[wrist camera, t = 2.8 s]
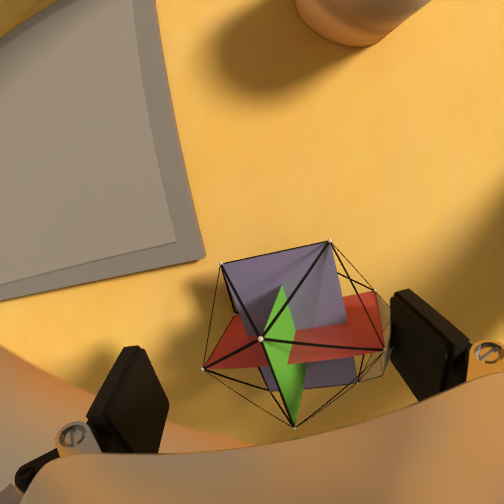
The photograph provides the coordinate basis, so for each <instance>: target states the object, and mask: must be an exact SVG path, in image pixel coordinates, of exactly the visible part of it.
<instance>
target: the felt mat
mask: <svg viewBox="0 0 504 504" xmlns="http://www.w3.org/2000/svg"><path fill="white" fill-rule="evenodd" d="M205 255H206V252H205V249H204V245H203V241H202V236H201V232H200V228H199V224H198V220H197V216H196V212H195V207H194V203H193V199H192V194H191V190H190V186H189V181H188V177H187V172H186V168H185V163H184V158H183V154H182V149H181V144H180V139H179V135H178V130H177V125H176V120H175V115H174V110H173V104H172V99H171V94H170V88H169V83H168V77H167V72H166V66H165V60H164V54H163V48H162V42H161V36H160V30H159V23H158V16H157V10H156V2H155V0H58V1H56V2H55V3H53V4H51V5H50V6H48V7H46V8H45V9H43V10H41V11H40V12H38V13H36V14H35V15H33V16H32V17H30V18H29V19H27V20H26V21H24V22H23V23H21V24H20V25H19V26H17V27H16V28H14V29H13V30H12V31H10V32H9V33H7V34H6V35H5V36H4V37H2V38H1V39H0V301H1V300H5V299H10V298H15V297H20V296H24V295H29V294H34V293H39V292H44V291H48V290H53V289H58V288H63V287H67V286H72V285H77V284H82V283H87V282H91V281H96V280H101V279H106V278H111V277H116V276H120V275H125V274H130V273H135V272H140V271H145V270H149V269H154V268H159V267H164V266H169V265H174V264H179V263H183V262H188V261H193V260H198V259H203V258H205Z"/></svg>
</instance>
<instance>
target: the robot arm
mask: <svg viewBox="0 0 504 504" xmlns="http://www.w3.org/2000/svg"><path fill="white" fill-rule="evenodd" d="M392 323H393V325H392ZM391 327H392V332H391ZM390 332H391V338H390V349H391V348H392V347H393V346H394V347H393V350H392V352H391V355H390V360H391V362H392V364H393V365H394V367H395V368H396V369H397V371H398V372H399V374H400V375H401V377H402V378H403V379H404V381H405V382H406V384H407V385H408V387H409V388H410V390H411V391H412V393H413V394H414V396H415V397H416V398H417V400H418V401H419V402H416V403H414V404H411V405H409V406H406V407H403V408H401V409H398V410H395V411H392V412H390V413H387V414H384V415H381V416H378V417H375V418H372V419H369V420H365V421H362V422H359V423H356V424H352V425H349V426H345V427H342V428H338V429H334V430H330V431H326V432H322V433H318V434H314V435H310V436H305V437H301V438H296V439H291V440H286V441H280V442H275V443H269V444H263V445H256V446H250V447H242V448H235V449H225V450H215V451H203V452H187V453H158V450H159V446H160V442H161V438H162V434H163V430H164V426H165V422H166V418H167V414H168V410H169V401H168V398H167V396H166V394H165V392H164V390H163V388H162V386H161V384H160V382H159V380H158V378H157V376H156V373H155V371H154V369H153V367H152V365H151V362H150V360H149V358H148V356H147V353H146V351H145V350H144V349H143V348H142V349H141V348H140V347H139V346H138V345H137V346H128V347H124V348H123V350H122V351H121V353H120V355H119V356H118V358H117V360H116V362H115V363H114V365H113V367H112V369H111V371H110V372H109V374H108V376H107V378H106V380H105V381H104V383H103V385H102V387H101V389H100V390H99V392H98V394H97V396H96V398H95V400H94V402H93V403H92V405H91V407H90V409H89V411H88V413H87V415H86V417H87V418H88V421H87V423H84V422H72V423H70V424H67V425H66V426H64V427H63V428H62V429H61V430H60V431H59V432H58V434H57V436H56V439H55V440H56V445H57V448H56V449H54V450H52V451H50V452H48V453H46V454H44V455H42V456H40V457H38V458H37V459H34V460H33V461H31V462H28V463H27V464H25V465H23V466H21V467H20V468H19V470H18V471H17V473H16V475H15V484H16V485H14V486H13V485H12V484H9V485H8V486H7V487H6V488H5V489H4V490H2V491H1V492H0V504H504V345H503V344H502V343H500V342H498V341H495V340H481V341H478V342H476V343H475V344H474V345H472V344H471V343H470V342H469V338H467V337H466V336H465V335H464V334H463V333H462V332H461V331H459V330H458V329H457V328H456V327H455V326H454V325H452V324H451V323H450V322H449V321H448V320H447V319H445V318H444V317H443V316H442V315H441V314H439V313H438V312H437V311H436V310H435V309H433V308H432V307H431V306H430V305H429V304H427V303H426V302H425V301H424V300H423V299H421V298H420V297H419V296H418V295H416V294H415V293H414V292H413V291H411V290H410V289H405V290H401V291H398V292H395V293H394V297H391V299H390Z"/></svg>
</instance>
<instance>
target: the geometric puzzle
mask: <svg viewBox="0 0 504 504" xmlns="http://www.w3.org/2000/svg"><path fill="white" fill-rule="evenodd" d="M332 244H333V243H332V239H328V240H327V241H324V242H319V243H315V244H310V245H305V246H301V247H296V248H291V249H287V250H282V251H277V252H273V253H268V254H263V255H259V256H254V257H249V258H245V259H240V260H235V261H231V262H226V263H223V262H222V261H221V262H219V265H220V267H221V270H222V273H223V277H224V280H225V283H226V287H227V290H228V293H229V297H230V300H231V303H232V307H233V310H234V316H233V318H232V320H231V322H230V323H229V325H228V327H227V328H226V330H225V332H224V333H223V335H222V337H221V338H220V340H219V342H218V344H217V345H216V347H215V349H214V350H213V352H212V354H211V355H210V357H209V359H208V360H207V362H206V364H205V365H204V364H203V367H201V371H206V372H207V371H208V372H210V373H213V374H216V375H219V376H222V377H225V378H228V379H231V380H234V381H237V382H240V383H243V384H246V385H249V386H253V387H256V388H259V389H263V390H266V391H269V392H270V394H271V395H272V397H273V398H274V400H275V401H276V403H277V404H278V406H279V407H280V409H281V410H282V412H283V414H284V415H285V417H286V418H287V420H288V421H289V423H290V424H291V427H292V429H293V430H296V429H297V427H298V426H299V425H301V424H302V423H304V422H305V421H307V420H308V418H309V417H310V418H311V416H312V415H313V414H314V415H315V413H316V412H317V411H318V410H320V409H321V408H322V407H323V406H325V405H326V404H327V403H328V402H329V401H331V400H332V399H333V398H334V397H335V396H337V395H338V394H339V393H340V392H341V391H343V390H344V389H345V388H346V387H347V386H348V385H349V384H355V383H356V384H359V382H362V381H366V380H369V379H373V378H377V377H380V376H383V373H384V371H385V368H386V366H387V363H388V360H389V358H390V355H391V352H392V350H393V347H394V346H393V347H392V348H391V349H390V338H391V332H392V327H391V332H390V307H389V306H388V305H387V304H386V303H385V301H384V300H383V299H382V298H381V297H380V296H379V295H378V293H377V292H376V291H377V290H376V289H373V288H372V289H371V288H369V287H367V286H365V285H363V284H361V283H359V282H357V281H355V280H353V279H350V277H349V275H348V273H347V271H346V269H345V267H344V265H343V263H342V262H341V260H340V258H339V256H338V254H337V252H336V251H335V249H334V247H335V246H334V247H333V245H334V244H333V245H332ZM331 246H332V248H333V250H334V252H335V254H336V256H337V257H338V259H339V261H340V263H341V265H342V267H343V269H344V270H345V272H346V274H347V276H348V277H346V276H344V275H342V274H340V273H338V272H337V270H336V265H335V261H334V257H333V252H332V248H331ZM335 248H336V247H335ZM336 249H337V248H336ZM337 250H338V249H337ZM338 251H339V250H338ZM339 252H340V251H339ZM340 253H341V252H340ZM341 254H342V253H341ZM342 255H343V254H342ZM343 256H344V255H343ZM344 257H345V256H344ZM345 258H346V257H345ZM346 260H347V259H346ZM347 261H348V260H347ZM348 262H349V261H348ZM349 263H350V262H349ZM350 264H351V263H350ZM351 265H352V264H351ZM352 266H353V265H352ZM353 267H354V266H353ZM354 268H355V267H354ZM356 271H357V270H356ZM219 272H220V268H219ZM357 272H358V271H357ZM358 273H359V272H358ZM338 274H339V275H341V276H343V277H346V278H348V279H349V280H350V282H351V284H352V286H353V288H354V290H355V292H356V295H351V296H345V297H342V292H341V288H340V283H339V278H338ZM359 274H360V273H359ZM360 275H361V274H360ZM361 276H362V275H361ZM362 277H363V276H362ZM218 278H219V274H218ZM364 280H365V279H364ZM352 281H354V282H356V283H358V284H360V285H362V286H364V287H366V288H368V289H370V290H372V291H371V292H366V293H361V294H358V292H357V290H356V288H355V286H354V284H353V282H352ZM365 281H366V280H365ZM366 282H367V281H366ZM367 283H368V282H367ZM217 284H218V280H217ZM368 284H369V283H368ZM369 285H370V284H369ZM370 286H371V285H370ZM229 288H230V290H229ZM216 289H217V285H216ZM230 291H231V293H230ZM231 294H232V296H233V299H234V302H235V304H236V307H237V310H238V311H237V312H236V310H235V307H234V303H233V300H232V296H231ZM215 295H216V291H215ZM214 301H215V297H214ZM213 307H214V303H213ZM212 313H213V309H212ZM238 313H239V314H238ZM211 319H212V315H211ZM210 325H211V321H210ZM392 325H393V323H392ZM209 331H210V327H209ZM208 337H209V333H208ZM207 343H208V339H207ZM206 349H207V345H206ZM369 353H372V354H371V356H370V358H369V360H368V362H367V365H366V367H365V369H364V371H362V372H361V368H362V363H363V358H364V354H369ZM357 355H363V358H362V362H361V367H360V372H361V373H360V372H359V375H358V376H357V374H356V368H355V362H354V356H357ZM205 356H206V351H205ZM204 362H205V358H204ZM248 367H258V369H259V371H260V373H261V375H262V377H263V380H264V382H265V384H266V386H267V388H268V389H264V388H261V387H258V386H255V385H251V384H248V383H245V382H242V381H239V380H236V379H233V378H230V377H227V376H224V375H221V374H218V373H216V372H213V371H210V370H207V369H228V368H248ZM208 372H207V373H208ZM361 374H362V375H361ZM210 375H211V374H210ZM360 375H361V377H360V379H359V376H360ZM211 376H212V375H211ZM213 377H214V376H213ZM357 377H358V380H357ZM214 378H215V377H214ZM216 379H217V378H216ZM217 380H218V379H217ZM218 381H219V380H218ZM220 382H221V381H220ZM221 383H222V382H221ZM223 384H224V383H223ZM347 384H348V385H347ZM356 384H355V385H356ZM224 385H225V384H224ZM340 385H347V386H346V387H345V388H343V389H342V390H341V391H340V392H339V393H338V394H336V395H335V396H334V397H333V398H332V399H330V400H329V401H328V402H327V403H326V404H324V405H323V406H322V407H321V408H319V409H318V410H317V411H316V412H314V413H313V414H312V415H311V416H309V417H308V418H307V419H305V420H304V421H303V422H301V423H300V424H299V425H297V426H295V424H296V420H297V415H298V411H299V406H300V401H301V396H302V391H303V389H312V388H322V387H331V386H340ZM226 386H227V385H226ZM353 386H354V385H353ZM353 386H352V387H353ZM227 387H228V386H227ZM352 387H351V388H352ZM229 388H230V387H229ZM230 389H231V388H230ZM232 390H233V389H232ZM348 390H349V389H348ZM348 390H347V391H348ZM233 391H234V390H233ZM272 391H279V393H280V395H281V398H282V401H283V403H284V406H285V408H286V411H287V413H288V416H289V418H290V420H289V418H288V417H287V415H286V414H285V412H284V411H283V409H282V408H281V406H280V405H279V403H278V402H277V400H276V399H275V397H274V396H273V394H272V393H271V392H272ZM347 391H346V392H347ZM235 392H236V391H235ZM236 393H237V392H236ZM344 393H345V392H344ZM344 393H343V394H344ZM238 394H239V393H238ZM343 394H342V395H343ZM239 395H240V394H239ZM241 396H242V395H241ZM242 397H243V396H242ZM339 397H340V396H339ZM339 397H338V398H339ZM244 398H245V397H244ZM245 399H246V398H245ZM247 400H248V399H247ZM335 400H336V399H335ZM335 400H334V401H335ZM248 401H249V400H248ZM250 402H251V401H250ZM251 403H252V402H251ZM331 403H332V402H331ZM331 403H330V404H331ZM253 404H254V403H253ZM254 405H256V404H254ZM328 405H329V404H328ZM328 405H327V406H328ZM256 406H257V405H256ZM327 406H326V407H327ZM258 407H259V406H258ZM259 408H260V407H259ZM324 408H325V407H324ZM324 408H323V409H324ZM261 409H262V408H261ZM323 409H322V410H323ZM262 410H264V409H262ZM264 411H265V410H264ZM320 411H321V410H320ZM320 411H319V412H320ZM266 412H267V411H266ZM267 413H268V412H267ZM317 413H318V412H317ZM317 413H316V414H317ZM269 414H270V413H269ZM271 415H272V414H271ZM314 415H313V416H314ZM272 416H273V415H272ZM313 416H312V417H313ZM274 417H275V416H274ZM275 418H277V417H275ZM310 418H309V419H310ZM277 419H278V418H277ZM279 420H280V419H279ZM281 421H282V420H281ZM282 422H283V421H282ZM284 423H285V422H284ZM286 424H287V423H286ZM287 425H289V424H287ZM289 426H290V425H289Z"/></svg>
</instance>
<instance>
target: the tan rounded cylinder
mask: <svg viewBox="0 0 504 504" xmlns="http://www.w3.org/2000/svg"><path fill="white" fill-rule="evenodd" d="M430 1H431V0H295V6H296V9H297V11H298V13H299V15H300V17H301V18H302V19H303V21H304V22H305V23H306V24H307V25H308V26H309V27H310V28H311V29H312V30H313V31H314V32H316V33H317V34H319V35H320V36H322V37H324V38H325V39H327V40H329V41H332V42H334V43H337V44H340V45H344V46H349V47H366V46H371V45H373V44H376V43H378V42H379V41H380V40H382V39H383V38H384V37H385V36H387V35H388V34H389V33H390V32H392V31H393V30H394V29H395V28H396V27H398V26H399V25H400V24H401V23H403V22H404V21H405V20H407V19H408V18H409V17H410V16H412V15H413V14H414V13H416V12H417V11H418V10H419V9H421V8H422V7H423V6H425V5H426V4H427V3H429V2H430Z"/></svg>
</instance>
